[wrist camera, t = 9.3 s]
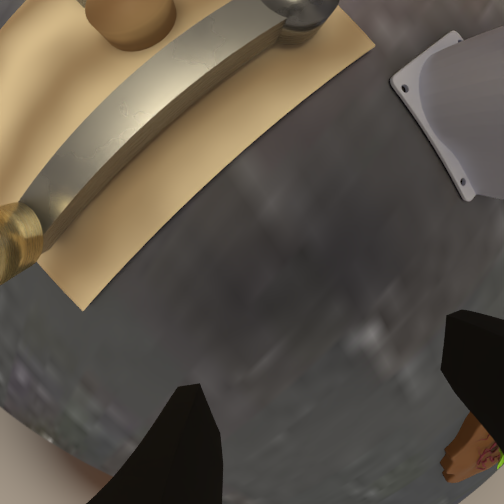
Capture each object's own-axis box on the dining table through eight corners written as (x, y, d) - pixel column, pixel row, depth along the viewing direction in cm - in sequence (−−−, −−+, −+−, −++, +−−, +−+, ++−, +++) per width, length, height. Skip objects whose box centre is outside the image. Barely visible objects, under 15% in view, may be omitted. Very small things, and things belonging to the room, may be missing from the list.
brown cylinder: (191, 16, 13) (186, -10, 10) (133, 65, 14) (114, 47, 11) (147, -19, 12) (135, -46, 9) (92, 26, 13) (70, 6, 10)
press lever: (288, -21, 12) (322, -103, 5) (334, 24, 13) (396, -43, 6) (16, 217, 14) (-71, 250, 7) (54, 265, 15) (-23, 322, 8)
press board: (368, 50, 15) (375, 45, 14) (89, 304, 18) (83, 311, 17) (176, -99, 11) (175, -107, 10) (-51, 120, 13) (-60, 120, 12)
